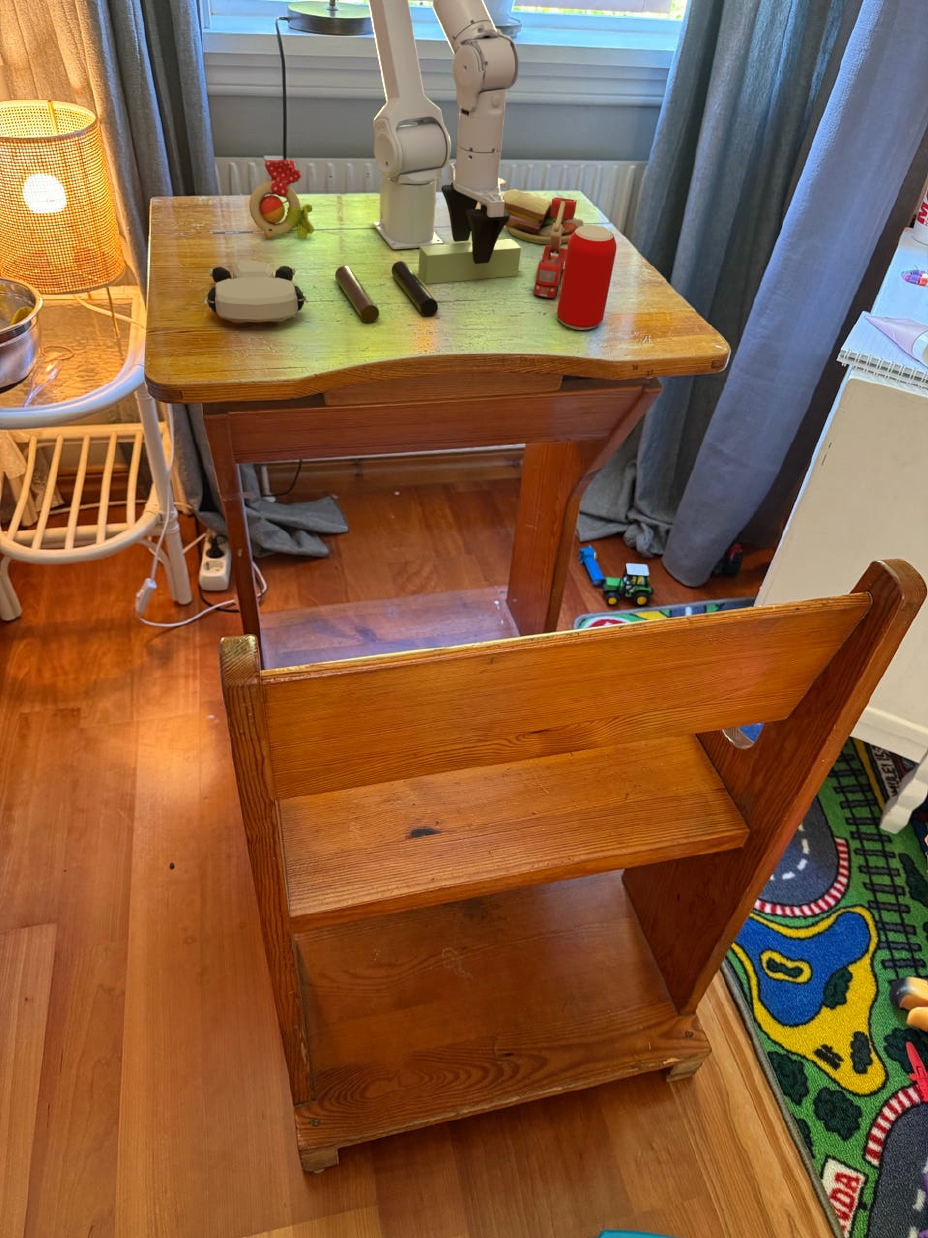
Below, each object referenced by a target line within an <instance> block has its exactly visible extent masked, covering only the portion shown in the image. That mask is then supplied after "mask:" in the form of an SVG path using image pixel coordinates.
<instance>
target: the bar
mask: <svg viewBox="0 0 928 1238" xmlns="http://www.w3.org/2000/svg"><path fill="white" fill-rule="evenodd" d="M521 252H522V247H521V246H520V244H518V243H517V242H516V241H515V240H514V239H513V238H507V239H497V241H496V244H495V247H494V250H493V253H492V255H491V258H490V261H489V263H482V264H475V263H474V261H473V255H472V241H470V242H469V241H466V242H455V243H443V244H442V245H429V246H420V247H419V252H418V254H419V255H418V271H417V275H418V276H419V277H420V279H421V280H422V281H423V283H424V284H425V285H432V284H443V283H453V282H454V283H455V282H464V281H475V280H485V279H495V278H497V279H498V278H506V277H517V276H519V268H520V261H521Z"/></svg>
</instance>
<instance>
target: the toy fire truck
mask: <svg viewBox="0 0 928 1238" xmlns="http://www.w3.org/2000/svg"><path fill="white" fill-rule="evenodd" d="M551 202H552V203H551V215H550V217H556V218H557V220H556V223H553V227H552V231H551V244H544V245H545V246H544V248H543V251H542V255H541V259H539V261H538V265H537V269H536V271H537V272H536V276H535V283H534V289H533V294H534V295H535V296H538V297H543V298H550V299H552V298H556V297H558V295H559V288H560V287H559V285H561V283H562V277H563V270H564V264H565V257H566V251H567V248H565V247H561V246H562V244H561V238H562V224H561V222H562V218H563V219H571V220H573V217H574V218H575V214H576V210H577V202H578V200H577V199H571V198H565V197H564V198H563V197H556V196H554V197H552V199H551ZM554 253H556V254H557V255H555V254H554Z"/></svg>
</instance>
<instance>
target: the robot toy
mask: <svg viewBox="0 0 928 1238" xmlns="http://www.w3.org/2000/svg"><path fill="white" fill-rule="evenodd" d="M296 271H297V269H296V268H295V267H290V266H289V265H281V266H279V267H278V268H277V269H276V270H275V274H274V268H273V267H272V266H271V265H270V263H268V262H265V261H261V260H260V261H259V260H253V261H252V260H248V261H247V260H245V261H241V262H237V263H235V265H234V266H233V267H232V275H231V271H229V270H228V269H227V268H225V267H222V266H216V267H214V268H209V269H208V274H209V275H210V277H212V280H213V282H214V283H215V286H214V287H211V289H210V291H209V292H208V294H207V297H204V306H208V308H210V309H211V311H212V312H213V313H215V314H217V316H218V317H219V318H220V319H223V320H225V321H230V322H232V323H234V324H243V323H266V322H267V323H268V322H272V323H281V322H284V321H285V320H288V319H290V318H293V317H295V316H297V313H298V312H300V311H301V310H302V308H303V307H304V305H305V303H306V304H308V303H309V299H308V298H307V295H304V292H303V291H302V289H300V287H299V286H297V285H294V283H293V278H294V276H295V274H296Z"/></svg>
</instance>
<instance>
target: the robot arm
mask: <svg viewBox="0 0 928 1238" xmlns="http://www.w3.org/2000/svg"><path fill="white" fill-rule="evenodd" d="M367 2H368V7H369V13H370V19H371V23H372V29H373V35H374V40H375V45H376V51H377V57H378V63H379V68H380V75H381V80H382V85H383V90H384V95H385V101H386V103H384V105H383V107H382V108H381V110H380V111H379V112H378V113H377V115H376V116H375V117H374V119H373V121H372V125H373V136H374V137H373V138H374V141H373V155H374V159H375V163H376V165H377V167H378V169H379V170H380V172H381V174H382V177H381V179H380V184H379V187H380V188H379V221H375V222H373V227H374V229H376V230H377V232H378V233H379V234H380V236H381V237H382V238H383V239H384V241H385V242H386V243H387V244H388V246H389V247H390V248H391V249H392V250H403V249H404V250H405V249H417V248H420V246H429V245H442V244H444V242H443V240H442V239H441V238H440V237H439V236H438V235H437V233H436V232H435V216H436V215H435V214H436V200H437V199H436V197H437V181H438V180H437V179H438V178H440V177H442V170H443V169H445V168H446V167H447V165H449V171H448V172H449V173H448V179H449V180H450V181H452V182H451V183H450V184H444V185H442V186H441V188H440V190H441V192H442V196H443V197H444V200H445V203H446V206H447V210H448V216H449V222H450V228H451V235H452V240H453V242H455V243H461V242H469V240H470V238H471V242H472V255H473V261H474V263H475V264H482V263H489V261H490V258H491V255H492V253H493V250H494V247H495V244H496V241H497V240H499V239H498V238H499V237H500V234H501V232H502V231H503V229H504V228H505V227H506V226H505V225H506V223H507V222H508V221H509V218H510V214H509V213H508V212H507V211H506V210H504V205H505V201H504V200H503V196H502V192H501V189H505V188H506V185H507V182H506V180H504V179H503V178H501V177H499V176H500V165H501V156H502V146H503V145H502V144H503V134H504V126H505V125H504V122H505V113H506V102H507V92H508V90H509V89H511V88H512V87H513V86H514V85H515V84H516V82H517V80H518V77H519V72H520V57H519V51H518V49H517V47H516V46H517V45H516V43H515V41H514V39H513V38H511V36H509V35H507V34H504V33H503V32H502V30H501V28H496V26H495V24H494V23H493V20H492V18H491V15H490V13H489V11H488V9H487V7H486V5H485V3H484V0H433V1H432V10H433V12H434V14H435V16H436V18H437V20H438V22H439V25H440V27H441V29H442V32H443V33H444V36H445V39H446V40H447V42H448V44H449V47H450V49H451V51H452V53H453V56H454V60H452V61H451V72H452V78H453V81H454V84H455V90H456V93H455V100H456V101H457V102H456V105H457V106H458V107H459V110H458V111H459V112H458V124H457V125H458V128H457V140H456V141H457V142H456V143H457V144H456V156H455V159H456V160H455V163H450V164H449V162H450V158H451V152H452V143H451V138H450V135H449V133H448V130H447V128H446V126H445V124H444V119H443V114H442V110H441V109H440V108H439V106H438V105H436V104H435V103H434V102H433V101H432V100H430V99H429V98H428V97H427V96H426V95H425V92H424V85H423V80H422V74H421V68H420V62H419V56H418V55H419V54H418V50H417V44H416V39H415V38H416V37H415V31H414V25H413V21H412V20H413V19H412V14H411V7H410V1H409V0H367ZM405 123H406V124H407V123H415V124H408V125H401V124H405ZM399 124H400V126H398V125H399ZM478 204H479V205H480V208H477V206H478Z"/></svg>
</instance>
